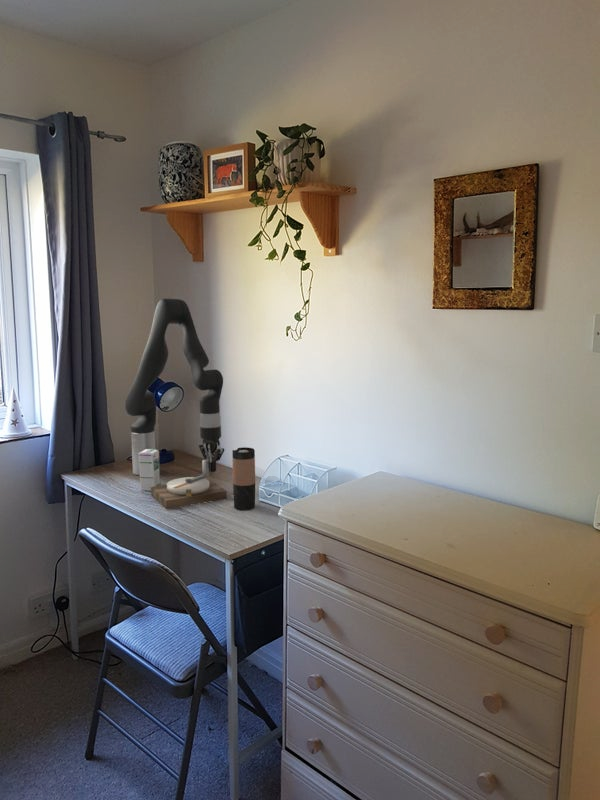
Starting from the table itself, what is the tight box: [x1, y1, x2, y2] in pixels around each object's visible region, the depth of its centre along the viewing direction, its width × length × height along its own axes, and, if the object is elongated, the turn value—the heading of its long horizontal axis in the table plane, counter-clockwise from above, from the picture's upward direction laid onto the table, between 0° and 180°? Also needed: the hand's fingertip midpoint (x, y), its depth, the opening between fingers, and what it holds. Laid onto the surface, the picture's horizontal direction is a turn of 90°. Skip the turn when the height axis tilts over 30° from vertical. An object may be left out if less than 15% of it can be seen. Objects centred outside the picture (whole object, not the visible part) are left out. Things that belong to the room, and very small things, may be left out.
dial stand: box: [150, 478, 228, 510], centre depth 229 cm, size 18×22×5 cm
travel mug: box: [231, 446, 256, 511], centre depth 217 cm, size 8×8×20 cm
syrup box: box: [138, 448, 162, 492], centre depth 239 cm, size 6×6×14 cm
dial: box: [166, 459, 210, 495], centre depth 230 cm, size 19×15×8 cm
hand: (212, 471), depth 234 cm, fingers closed
